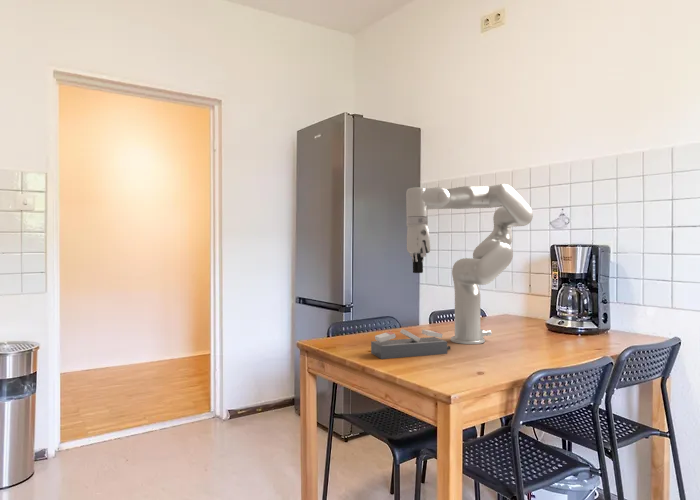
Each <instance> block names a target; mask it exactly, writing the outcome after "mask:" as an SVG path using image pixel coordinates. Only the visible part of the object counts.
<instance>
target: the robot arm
mask: <svg viewBox="0 0 700 500" xmlns="http://www.w3.org/2000/svg"><path fill="white" fill-rule="evenodd" d="M405 194H406V197H405V198H406V202H405V203H406V206H405V207H406V227H407V233H406V250H407V253H409V256H410V257H411V261H412V273H414V274H422V273H424V258H425V257H427V254H429V253H431V238H430V231H429V225H428V222H429V221H428V220H429V219H428V210H448V209H450V210H452V209H453V210H465V209H468V210H469V209H492V208H497V209H496V210H495V211H494V214H493V221H492V222H493V229H492V232H491V233H490V234H489V235H488V236H487V237H486V238H485V239H483V240H482V242H481V243H479V244H478V245H476V247H475V248H474V250H473V252H472V257H471V258H470V257H469V258H467V257H465V258H460V259H458V260H457V261H455V262H454V263H453V266H452V268H451V269H452V270H451V274H452V281H453V287H454V335H452V336H451V337H450V341H451V342H453V343H456V344H461V345H480V344H483V343H485V340H486V339H485V338H484V337H485V336H487V337H488V336H492V334H493V333H492V331H491V330H489V329H488V330H483V329H482V328H481V292H480V288H479V286H484V285H485V286H486V285H488V284H490V283H491V282H493V281H494V280H495V279H496V278H497V277H498V276H500V274H502V272H503V271H504V270H506V269H508V268H507V267H509V265H510V264H511V262H512V260H513V257H514V252H513V251H514V250H513V248H512V246H511V244H512V242H513V232H512V227H513V228H514V227H515V228H516V227H525V226H528V225H529V224H531V222H532V221H533V219H534V218H533V217H534V214H533V209H532V207H531V206H530V204H529V203H527V201H526V200H525V199H524V198H523V197H522V196H521V195H520V194H519V193H518V192H517V191H516V189H514V188H513V187H512V186H511V185H509V184H506V183H502V184H495V185H464V186H463V185H462V186H458V187H457V186H456V187H453V188H444V187H442V186H436V187H427V188H425V187H418V186H417V187H409V188H407V189H406V192H405Z"/></svg>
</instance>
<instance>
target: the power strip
mask: <svg viewBox="0 0 700 500" xmlns="http://www.w3.org/2000/svg"><path fill="white" fill-rule="evenodd" d="M448 350H449V351H450V350H451V346H450V345H448V341H446V340H444V339H442V338H439V337H433V336H427V337H420V340H419V342H417V341H415V340H413V339H411V338H402V339H390V340H387V341H383V342H379V341H377V340H374V341H372V340H371V341H370V354H371V355H374V356H376V357H377V358H378V359H380V360H386V359H398V358H399V359H400V358H411V357H422V356H434V355H447V354H448Z"/></svg>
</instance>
